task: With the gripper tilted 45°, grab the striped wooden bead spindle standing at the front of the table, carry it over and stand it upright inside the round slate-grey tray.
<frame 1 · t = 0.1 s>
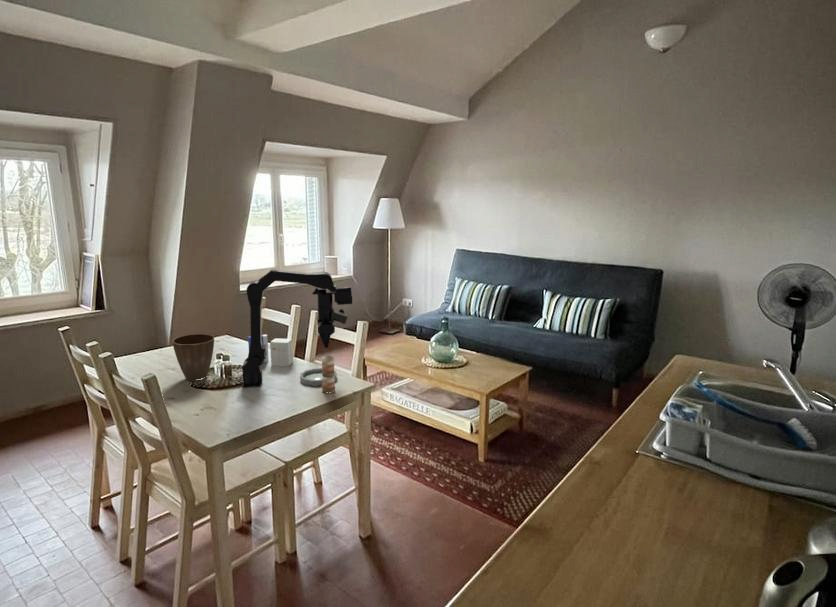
hand: (326, 344, 191), 15 cm above the table, tool pointing down, fingers open, 9 cm apart
small box: (282, 364, 211), on the table
plant pot: (196, 378, 193), on the table
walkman: (259, 362, 213), on the table
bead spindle: (328, 390, 183), on the table
round tray: (318, 379, 194), on the table
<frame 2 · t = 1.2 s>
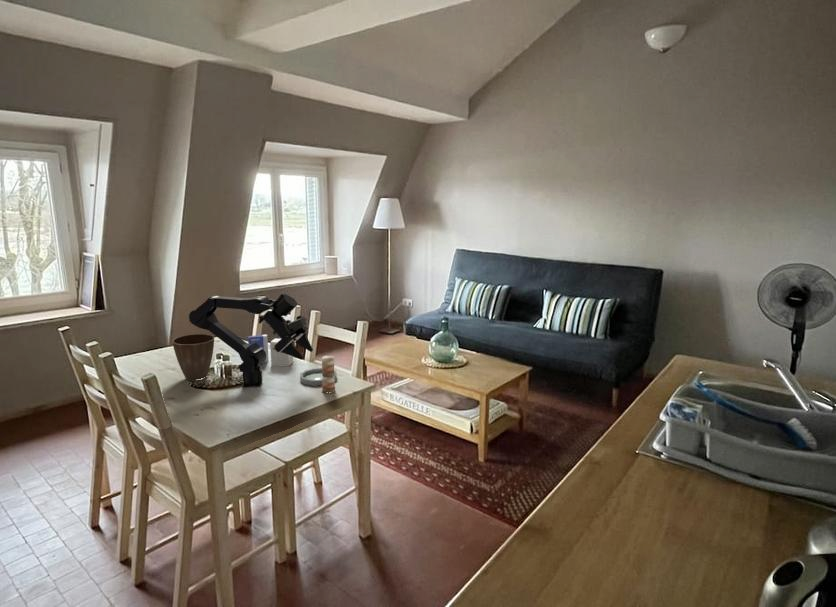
hand: (307, 354, 181), 13 cm above the table, tool tilted 45°, fingers open, 9 cm apart
nothing on the table moved.
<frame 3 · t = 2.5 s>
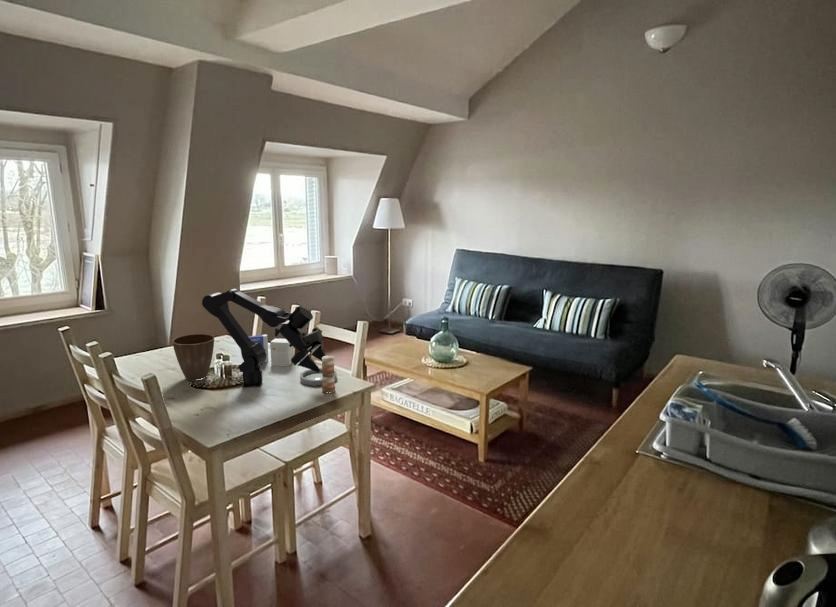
hand: (323, 367, 181), 9 cm above the table, tool tilted 45°, fingers open, 9 cm apart
nothing on the table moved.
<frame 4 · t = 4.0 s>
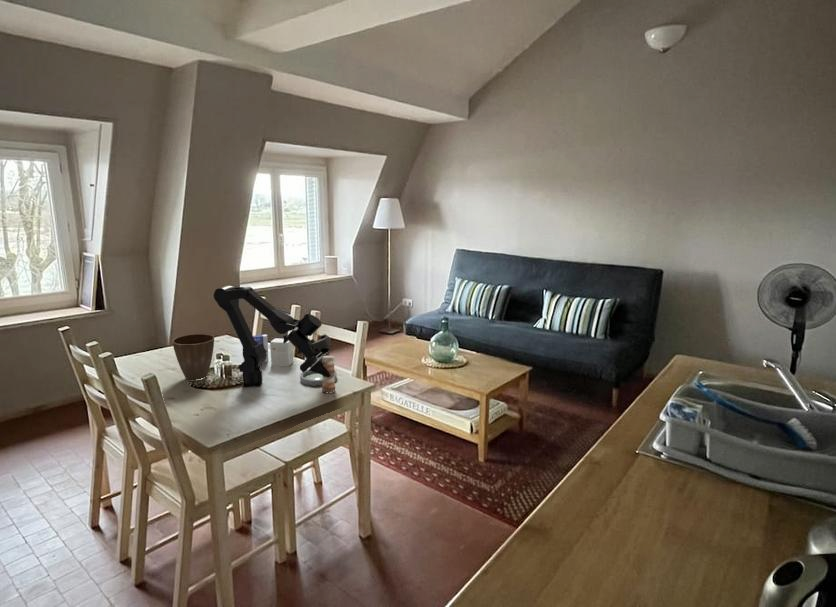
hand: (331, 374, 181), 7 cm above the table, tool tilted 45°, fingers closed on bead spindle, 4 cm apart
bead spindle: (328, 390, 183), on the table, touching gripper
everything else where it was.
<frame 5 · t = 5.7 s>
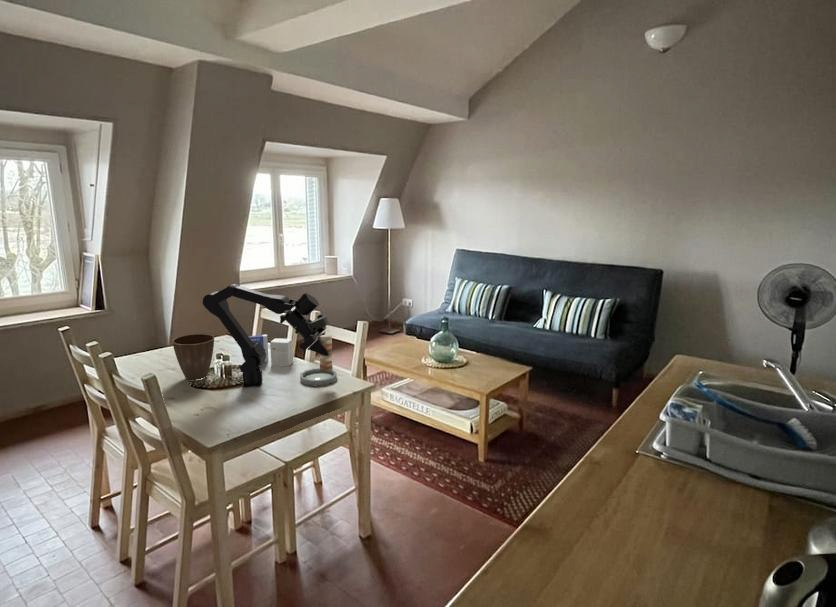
hand: (329, 353, 184), 13 cm above the table, tool tilted 45°, fingers closed on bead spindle, 4 cm apart
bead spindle: (326, 369, 185), point 7 cm above the table, touching gripper
everything else where it was.
when the fingers open (9 cm above the table, at t = 7.7 s): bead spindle drops 2 cm, resting on round tray.
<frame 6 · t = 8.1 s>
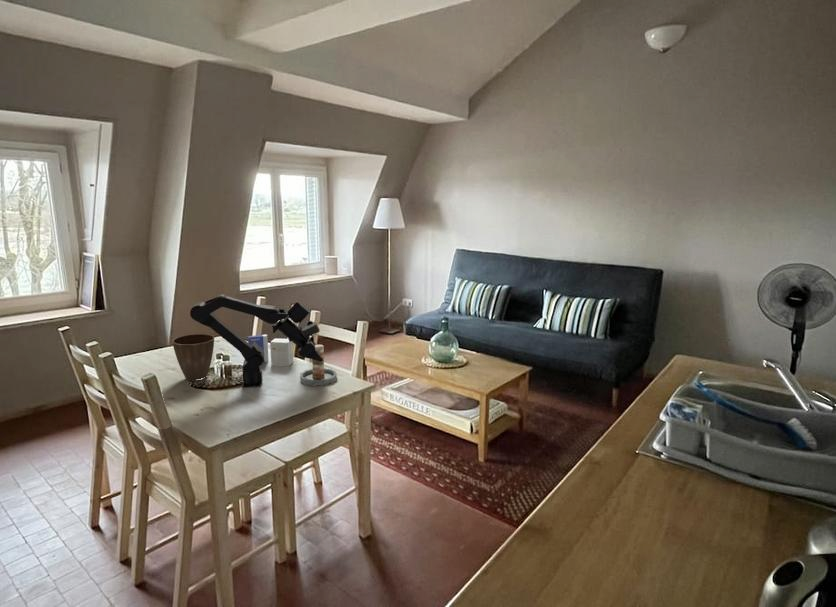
hand: (321, 357, 193), 9 cm above the table, tool tilted 45°, fingers open, 9 cm apart
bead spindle: (318, 377, 194), point 1 cm above the table, touching round tray
everything else where it was.
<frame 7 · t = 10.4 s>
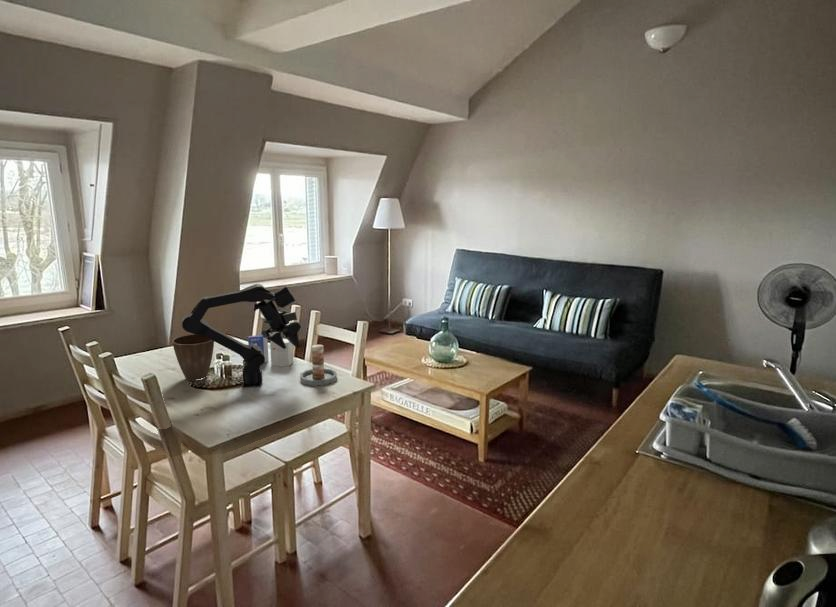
hand: (291, 348, 191), 13 cm above the table, tool tilted 25°, fingers open, 9 cm apart
nothing on the table moved.
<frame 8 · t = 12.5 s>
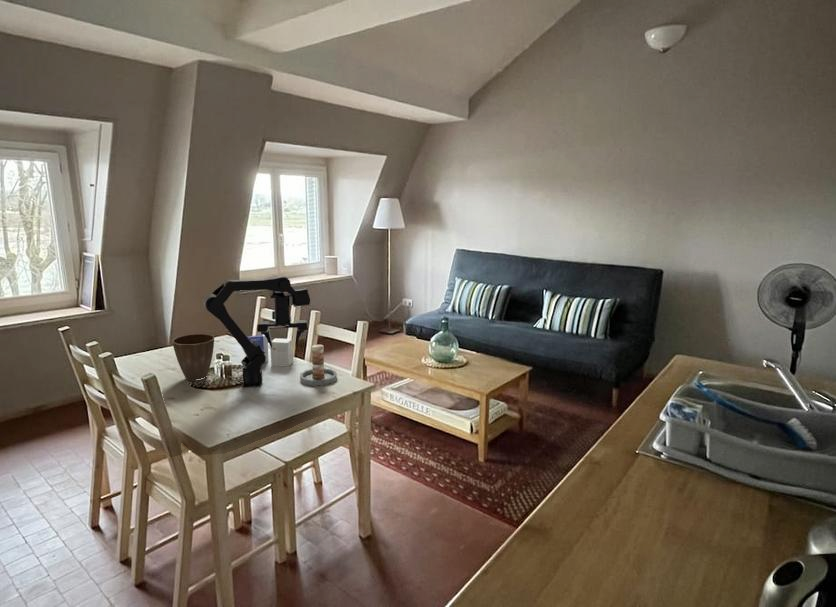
hand: (283, 347, 191), 13 cm above the table, tool pointing down, fingers open, 9 cm apart
nothing on the table moved.
at the end: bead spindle inside the target area on the round tray (0.0 cm from its centre), point 0.6 cm above the round tray's base; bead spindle tilted 0°; the gripper is holding nothing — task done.
